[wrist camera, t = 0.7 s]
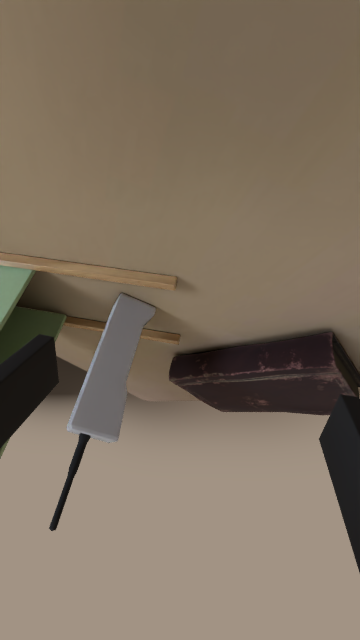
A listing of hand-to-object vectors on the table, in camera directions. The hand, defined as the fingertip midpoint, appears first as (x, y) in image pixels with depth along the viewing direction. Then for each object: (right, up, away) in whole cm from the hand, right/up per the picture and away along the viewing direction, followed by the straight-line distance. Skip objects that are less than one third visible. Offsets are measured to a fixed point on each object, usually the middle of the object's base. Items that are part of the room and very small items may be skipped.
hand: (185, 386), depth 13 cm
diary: (+14, -5, +34) cm, 37 cm away
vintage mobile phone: (-6, +5, +25) cm, 27 cm away
